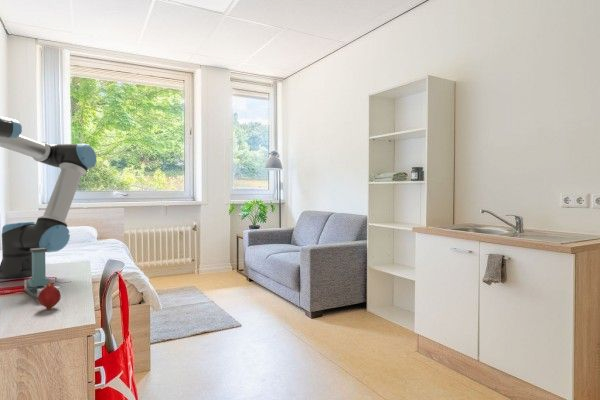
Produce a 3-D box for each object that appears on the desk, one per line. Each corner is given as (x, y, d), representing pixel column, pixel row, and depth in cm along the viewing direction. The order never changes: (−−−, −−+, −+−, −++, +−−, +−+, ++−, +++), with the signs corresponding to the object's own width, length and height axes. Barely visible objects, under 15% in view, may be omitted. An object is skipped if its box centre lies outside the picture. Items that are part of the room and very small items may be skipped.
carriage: (28, 285, 134) (28, 248, 134) (45, 282, 138) (45, 247, 138) (31, 287, 131) (31, 250, 131) (48, 284, 135) (48, 248, 135)
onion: (41, 307, 117) (40, 282, 117) (62, 305, 120) (62, 280, 119) (36, 312, 112) (35, 286, 112) (58, 310, 114) (58, 284, 114)
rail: (24, 290, 137) (24, 278, 137) (43, 287, 142) (43, 276, 141) (39, 302, 122) (39, 289, 122) (60, 298, 127) (60, 286, 126)
